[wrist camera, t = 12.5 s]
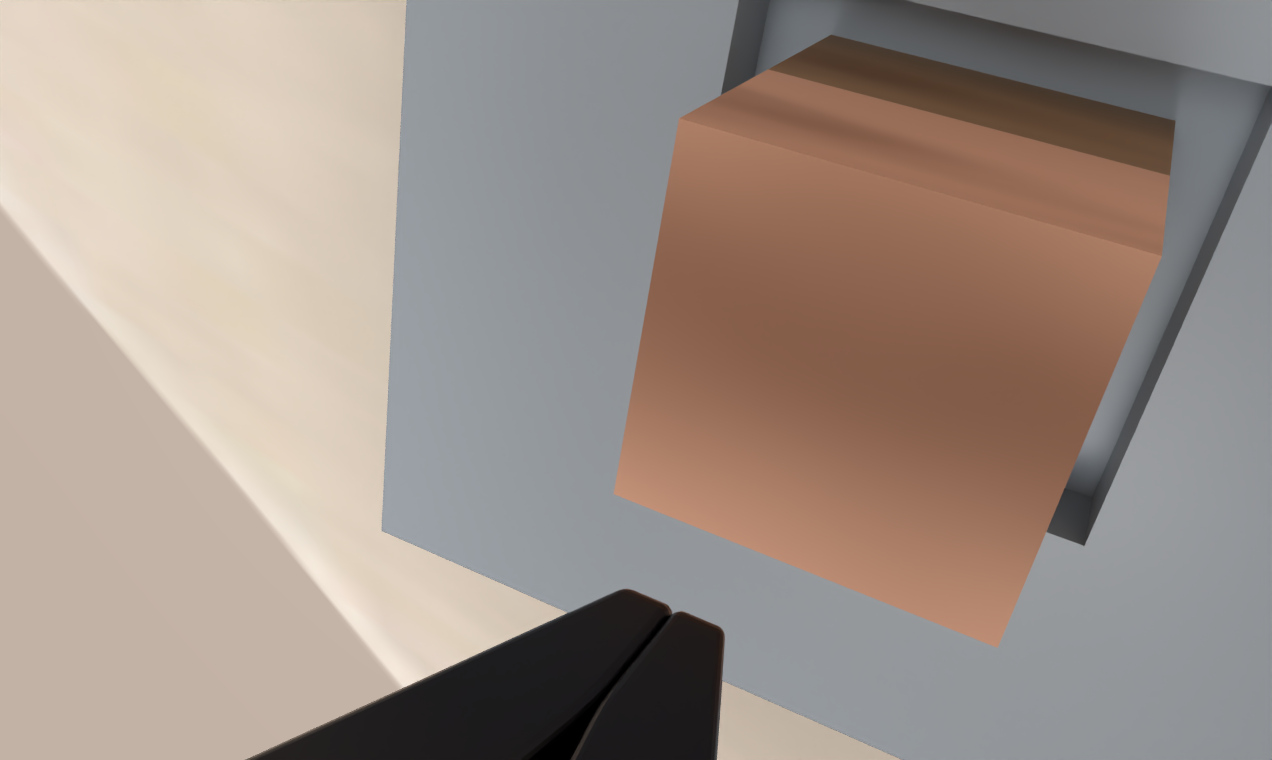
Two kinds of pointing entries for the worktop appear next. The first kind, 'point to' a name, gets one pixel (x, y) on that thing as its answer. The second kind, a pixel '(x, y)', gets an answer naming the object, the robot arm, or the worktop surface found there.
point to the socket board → (753, 582)
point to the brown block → (890, 319)
